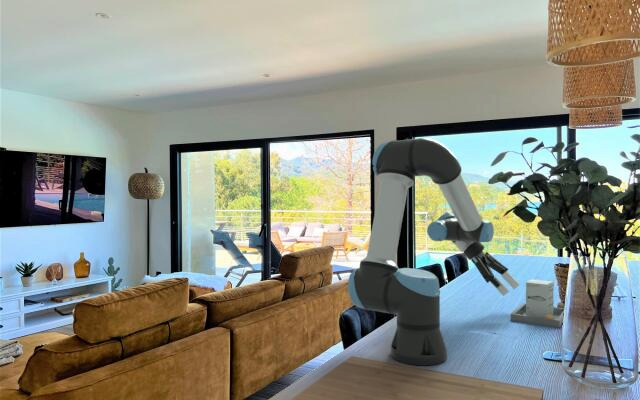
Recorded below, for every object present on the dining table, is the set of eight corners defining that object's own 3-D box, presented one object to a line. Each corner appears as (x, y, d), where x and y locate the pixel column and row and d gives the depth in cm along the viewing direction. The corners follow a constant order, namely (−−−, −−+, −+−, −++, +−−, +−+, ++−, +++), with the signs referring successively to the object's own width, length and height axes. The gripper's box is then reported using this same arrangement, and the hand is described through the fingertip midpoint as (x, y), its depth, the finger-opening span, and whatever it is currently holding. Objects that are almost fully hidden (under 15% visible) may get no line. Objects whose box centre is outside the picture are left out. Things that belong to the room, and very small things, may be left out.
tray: (559, 329, 146) (559, 320, 146) (510, 322, 155) (510, 313, 155) (568, 317, 160) (568, 308, 160) (523, 311, 169) (523, 303, 169)
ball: (553, 325, 148) (553, 316, 148) (543, 323, 150) (543, 314, 150) (555, 323, 151) (555, 314, 151) (545, 321, 152) (545, 312, 152)
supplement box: (525, 317, 158) (524, 281, 157) (532, 313, 163) (531, 278, 163) (548, 321, 153) (547, 284, 152) (554, 317, 158) (554, 280, 158)
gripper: (465, 242, 160) (510, 289, 151) (487, 236, 180) (528, 278, 171) (450, 256, 164) (493, 303, 155) (474, 249, 183) (513, 290, 174)
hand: (512, 290), depth 163 cm, fingers open, 13 cm apart
